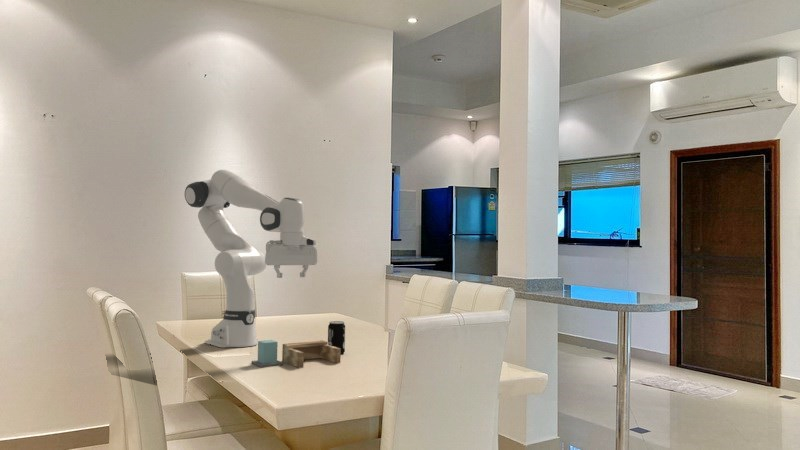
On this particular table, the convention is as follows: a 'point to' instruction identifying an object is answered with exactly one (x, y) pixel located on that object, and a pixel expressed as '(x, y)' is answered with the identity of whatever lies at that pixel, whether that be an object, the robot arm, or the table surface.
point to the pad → (266, 363)
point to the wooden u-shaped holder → (309, 352)
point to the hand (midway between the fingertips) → (291, 277)
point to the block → (267, 351)
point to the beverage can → (337, 335)
